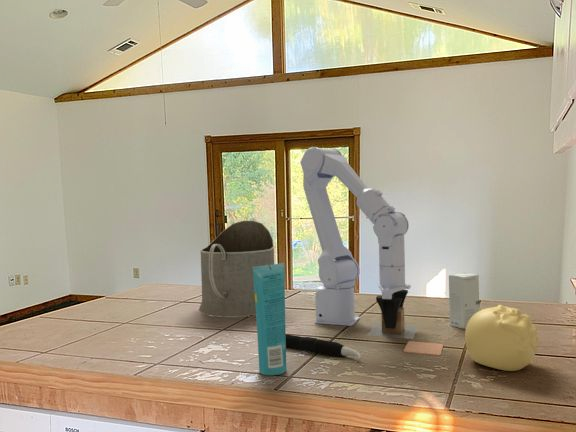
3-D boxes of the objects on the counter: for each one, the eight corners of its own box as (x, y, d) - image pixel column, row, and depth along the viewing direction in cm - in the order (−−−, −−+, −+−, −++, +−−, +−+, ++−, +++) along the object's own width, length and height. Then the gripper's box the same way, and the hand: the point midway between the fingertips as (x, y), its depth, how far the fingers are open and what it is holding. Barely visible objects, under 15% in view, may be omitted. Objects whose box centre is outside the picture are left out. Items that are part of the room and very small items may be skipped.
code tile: (366, 335, 105) (366, 334, 105) (376, 324, 114) (376, 323, 114) (412, 339, 101) (412, 338, 101) (418, 327, 110) (418, 326, 110)
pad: (403, 352, 92) (403, 351, 92) (408, 342, 99) (408, 341, 99) (440, 356, 90) (440, 354, 90) (443, 345, 96) (443, 344, 96)
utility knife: (368, 359, 89) (367, 344, 89) (359, 366, 86) (358, 350, 86) (276, 343, 101) (275, 329, 101) (265, 348, 98) (264, 334, 98)
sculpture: (536, 382, 76) (535, 316, 76) (459, 369, 82) (458, 308, 82) (541, 360, 86) (540, 302, 85) (472, 351, 92) (471, 296, 92)
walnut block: (381, 332, 106) (381, 310, 106) (385, 327, 110) (385, 306, 110) (401, 334, 104) (401, 311, 104) (404, 329, 109) (404, 307, 108)
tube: (276, 362, 88) (273, 261, 88) (296, 368, 85) (293, 263, 85) (248, 374, 83) (245, 266, 82) (268, 380, 79) (265, 268, 79)
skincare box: (464, 329, 107) (463, 277, 107) (448, 325, 111) (447, 274, 111) (481, 325, 111) (480, 274, 110) (464, 321, 114) (463, 272, 114)
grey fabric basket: (287, 300, 145) (285, 219, 144) (256, 327, 114) (253, 225, 114) (217, 298, 151) (215, 221, 150) (170, 324, 120) (166, 226, 119)
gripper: (404, 270, 99) (406, 334, 99) (414, 261, 112) (415, 318, 112) (371, 269, 101) (373, 331, 102) (384, 261, 115) (385, 316, 115)
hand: (393, 324), depth 107 cm, fingers open, 6 cm apart
